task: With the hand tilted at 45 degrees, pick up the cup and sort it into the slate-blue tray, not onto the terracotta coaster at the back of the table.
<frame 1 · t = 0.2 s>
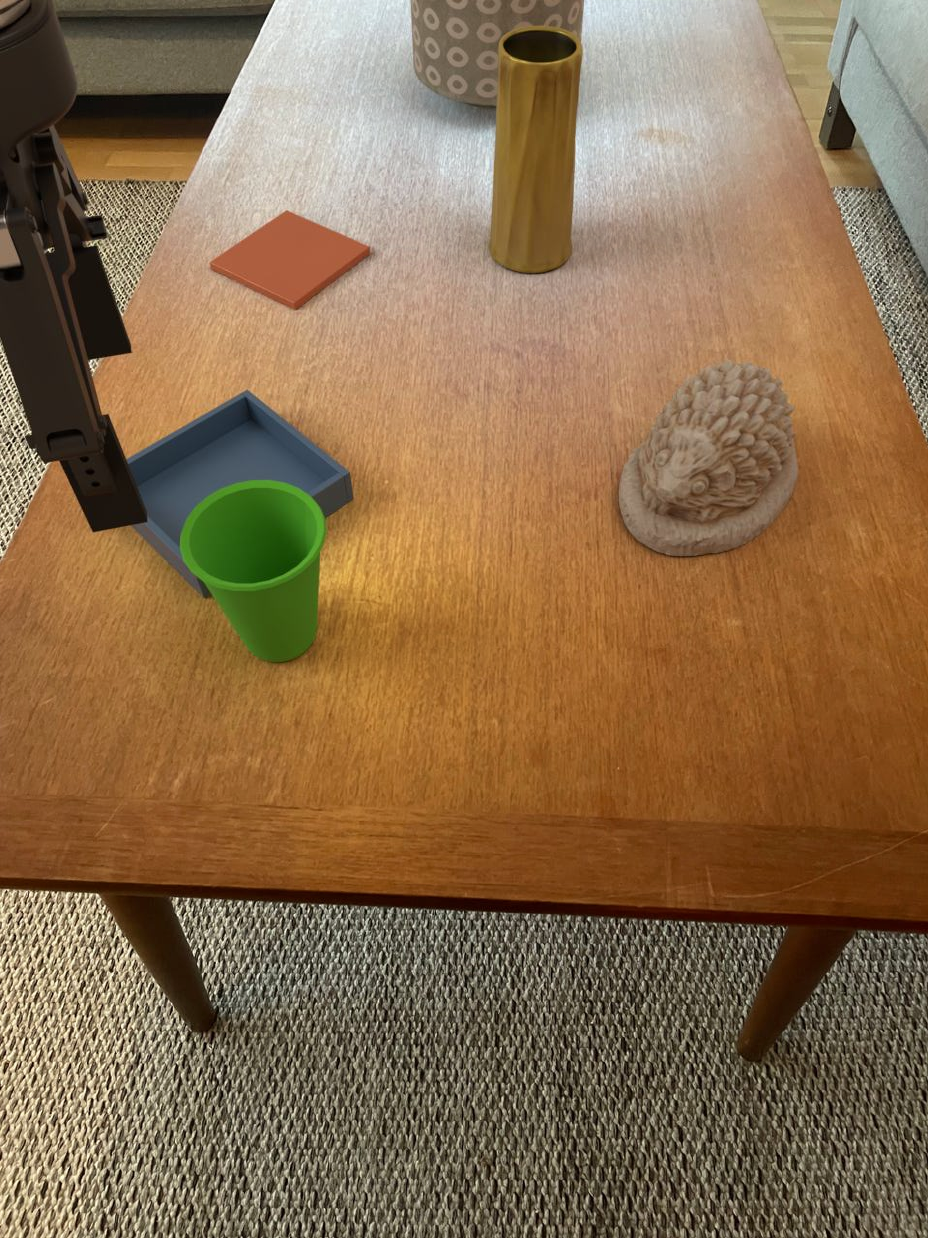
hand: (113, 431, 53), 20 cm above the table, tool pointing down, fingers open, 13 cm apart
vase: (529, 251, 97), on the table
planter: (495, 92, 116), on the table
cup: (281, 635, 70), on the table
sculpture: (705, 488, 78), on the table
terracotta coaster: (291, 261, 96), on the table
blue tray: (230, 501, 78), on the table
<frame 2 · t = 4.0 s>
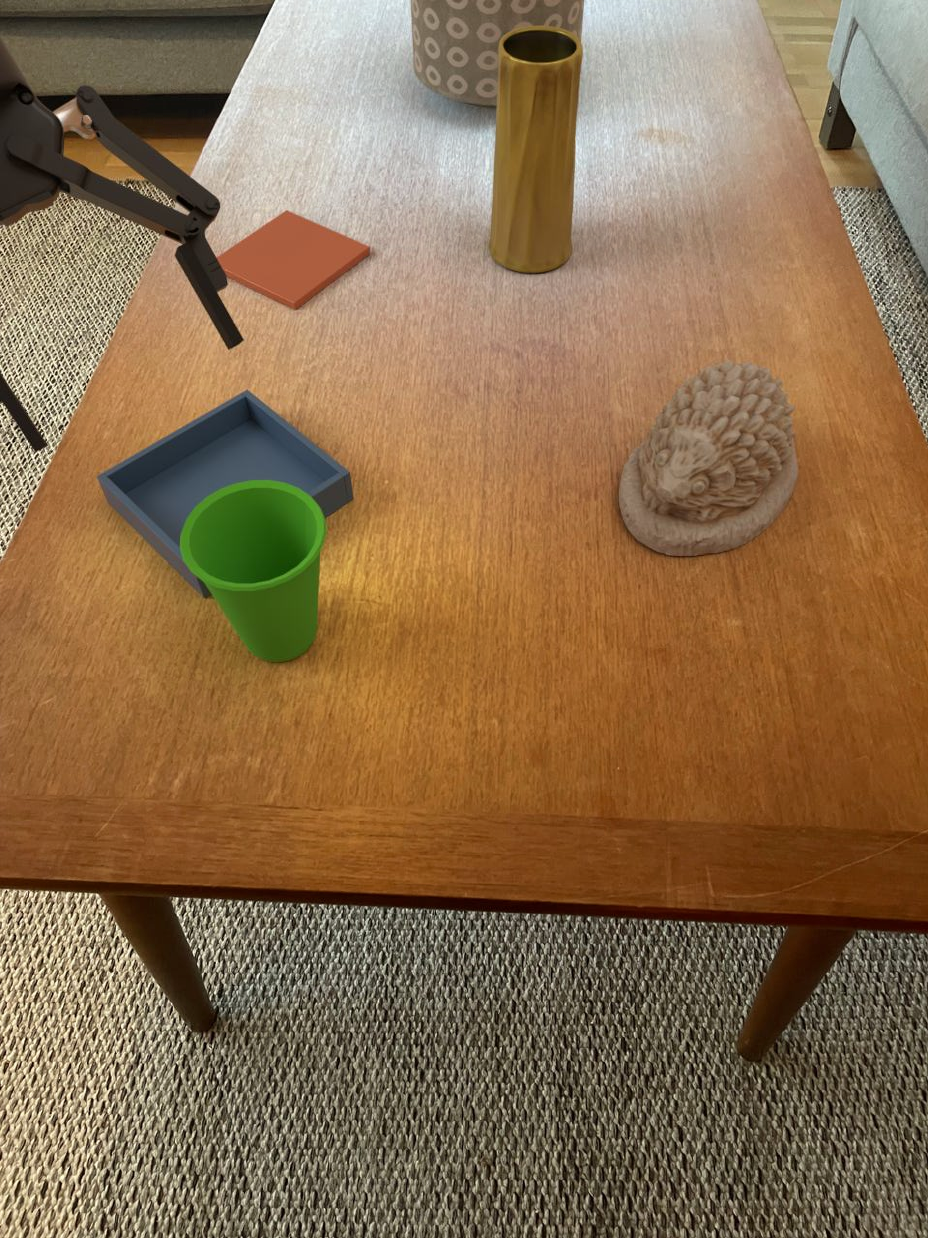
hand: (141, 396, 62), 16 cm above the table, tool tilted 40°, fingers open, 13 cm apart
nothing on the table moved.
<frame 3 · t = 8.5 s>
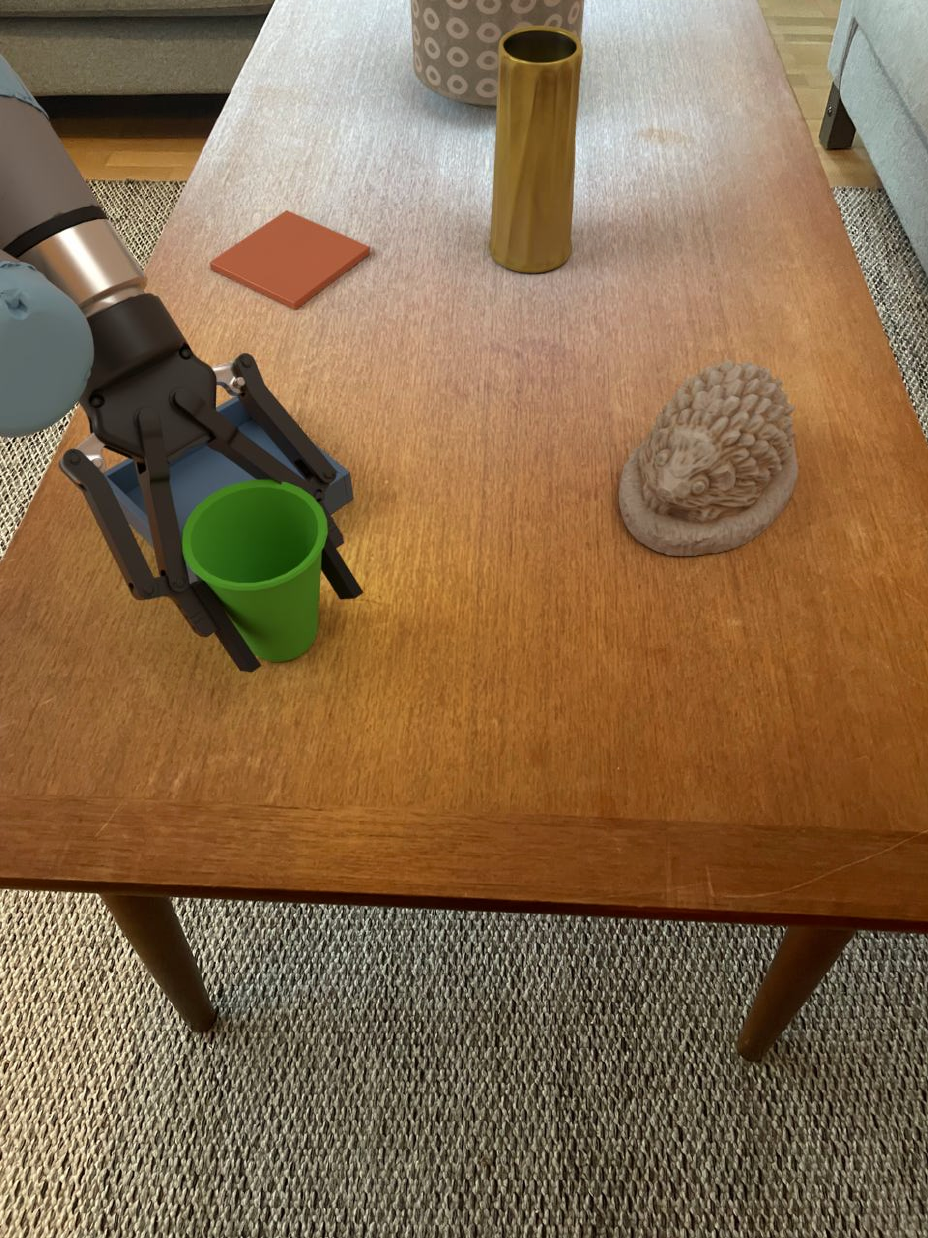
hand: (302, 631, 65), 4 cm above the table, tool tilted 45°, fingers closed on cup, 8 cm apart
cup: (282, 635, 70), on the table, touching gripper
everything else where it was.
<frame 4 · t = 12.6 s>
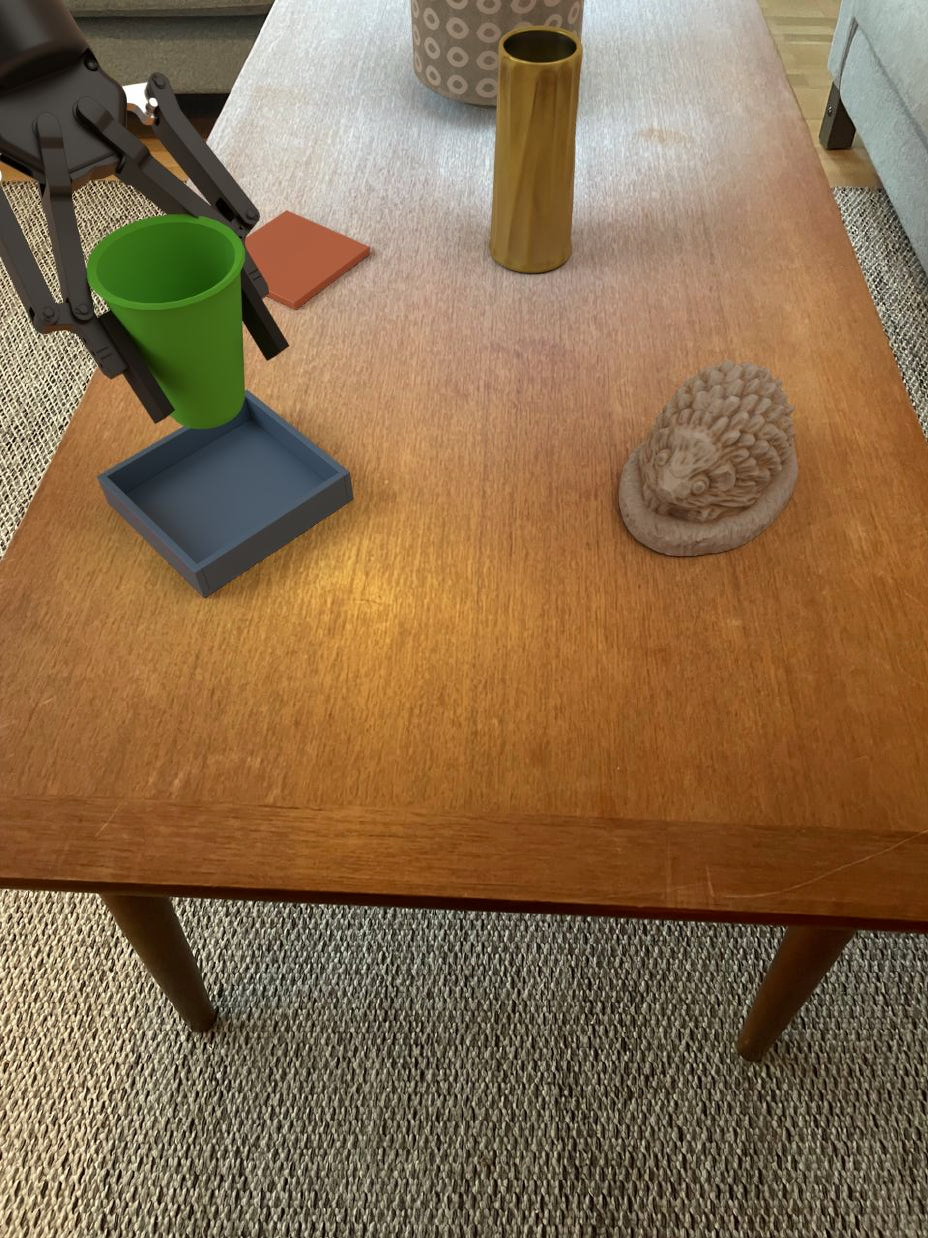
hand: (222, 384, 61), 16 cm above the table, tool tilted 45°, fingers closed on cup, 8 cm apart
cup: (207, 406, 66), point 12 cm above the table, touching gripper
everything else where it was.
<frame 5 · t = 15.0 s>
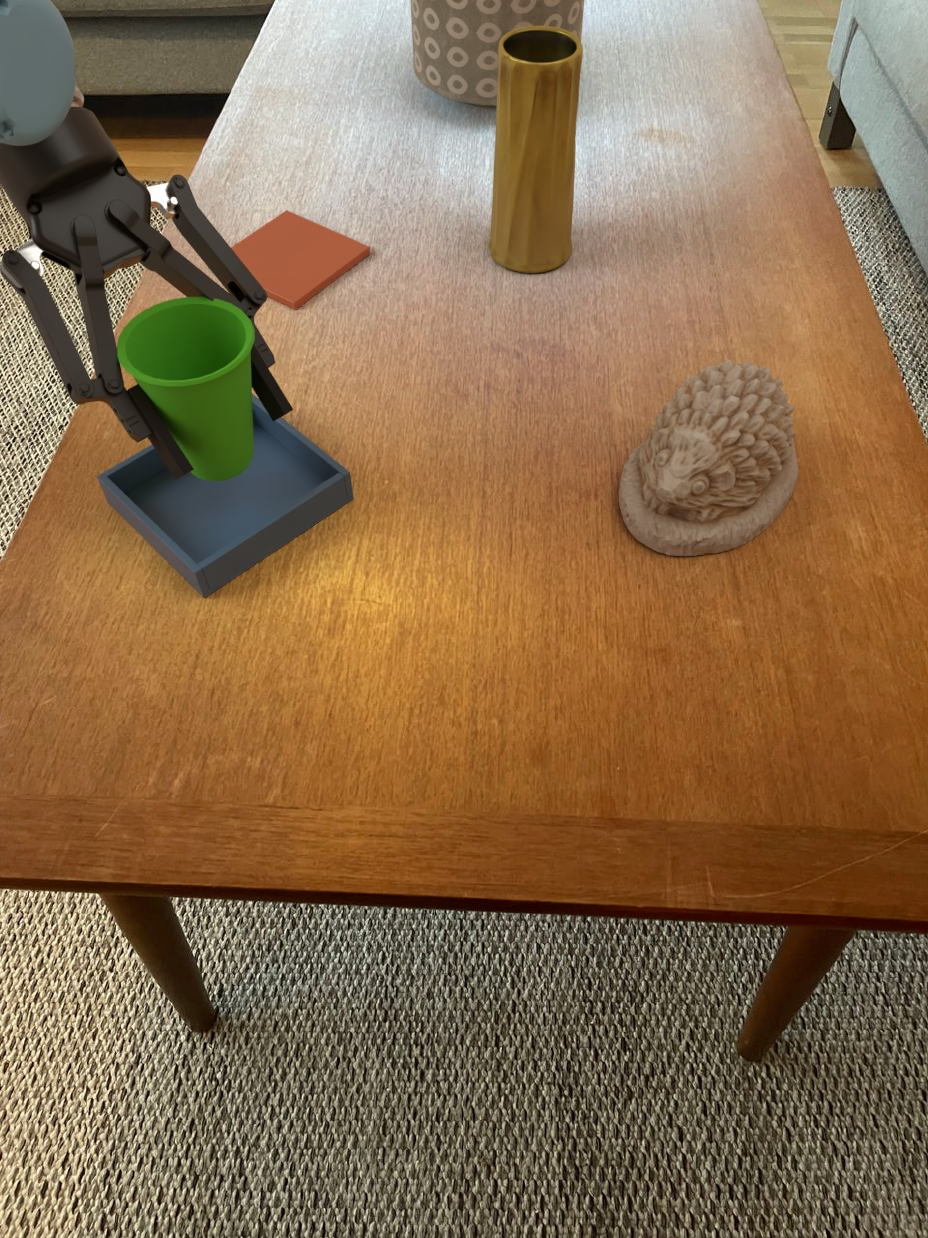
hand: (235, 444, 69), 8 cm above the table, tool tilted 45°, fingers closed on cup, 8 cm apart
cup: (220, 459, 74), point 4 cm above the table, touching gripper
everything else where it was.
when the fingers open (4 cm above the table, at t = 16.6 s): cup stays where it is, resting on blue tray.
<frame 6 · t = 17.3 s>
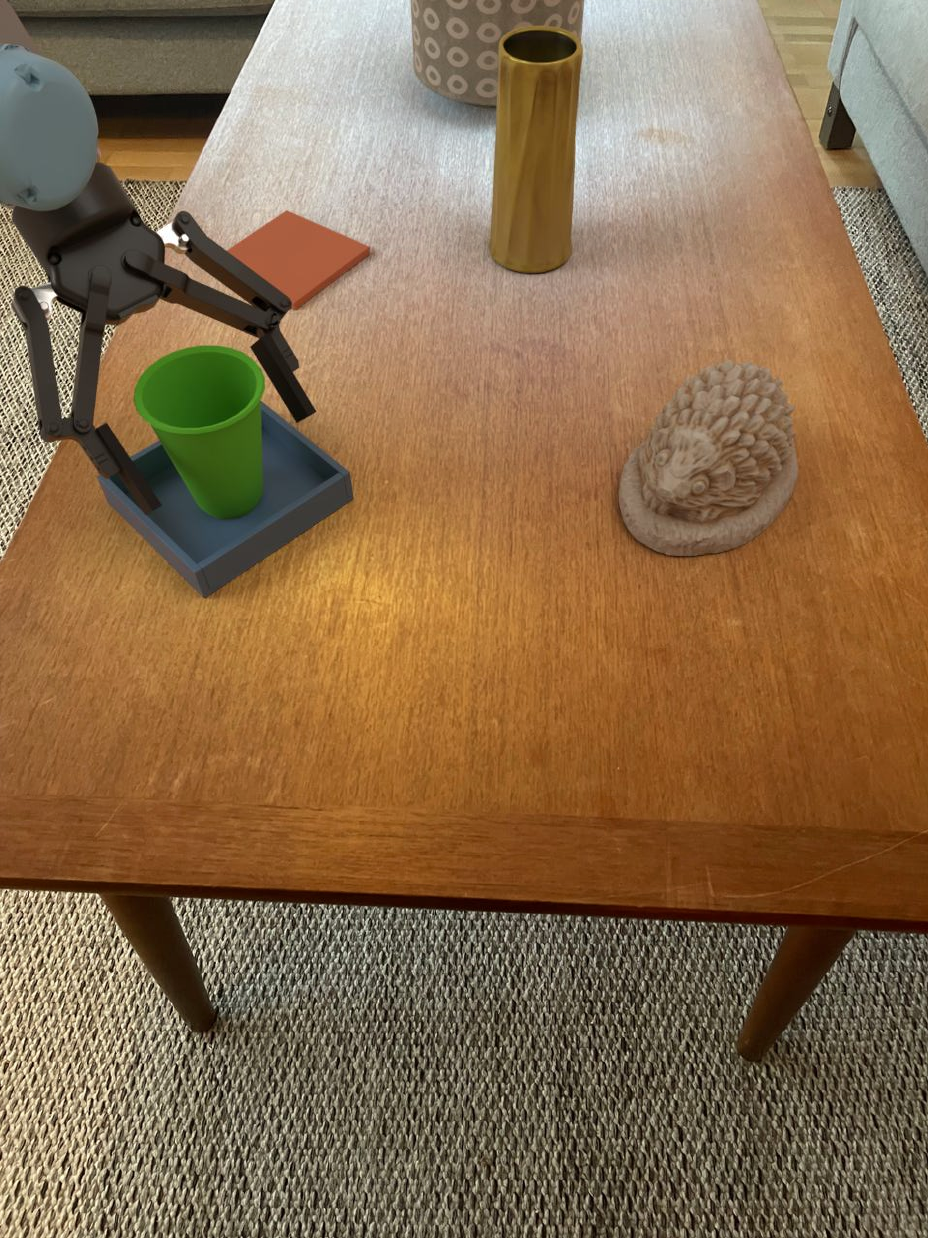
hand: (233, 462, 72), 6 cm above the table, tool tilted 45°, fingers open, 13 cm apart
cup: (231, 497, 77), resting on blue tray
everything else where it was.
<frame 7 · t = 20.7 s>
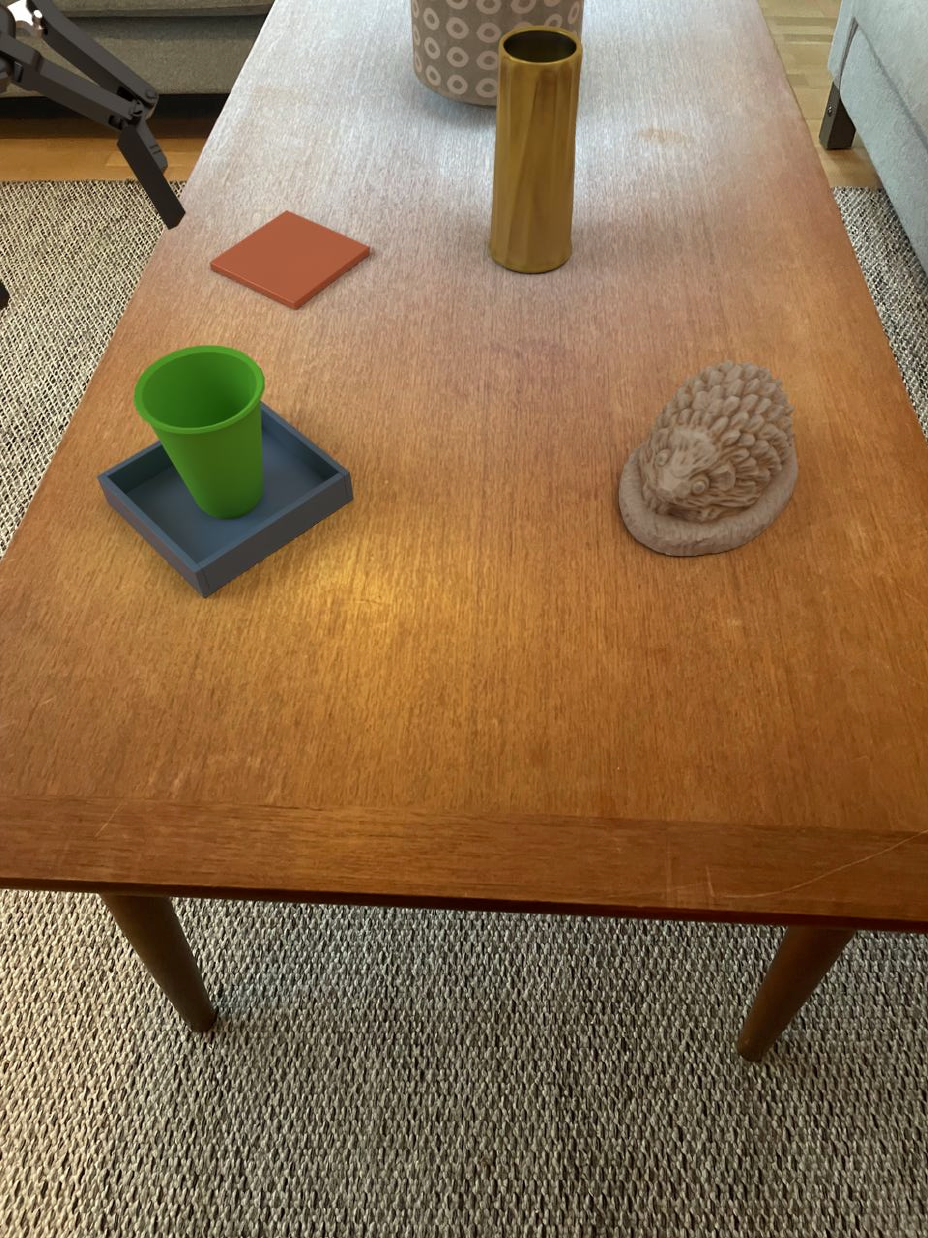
hand: (94, 261, 68), 17 cm above the table, tool tilted 45°, fingers open, 13 cm apart
nothing on the table moved.
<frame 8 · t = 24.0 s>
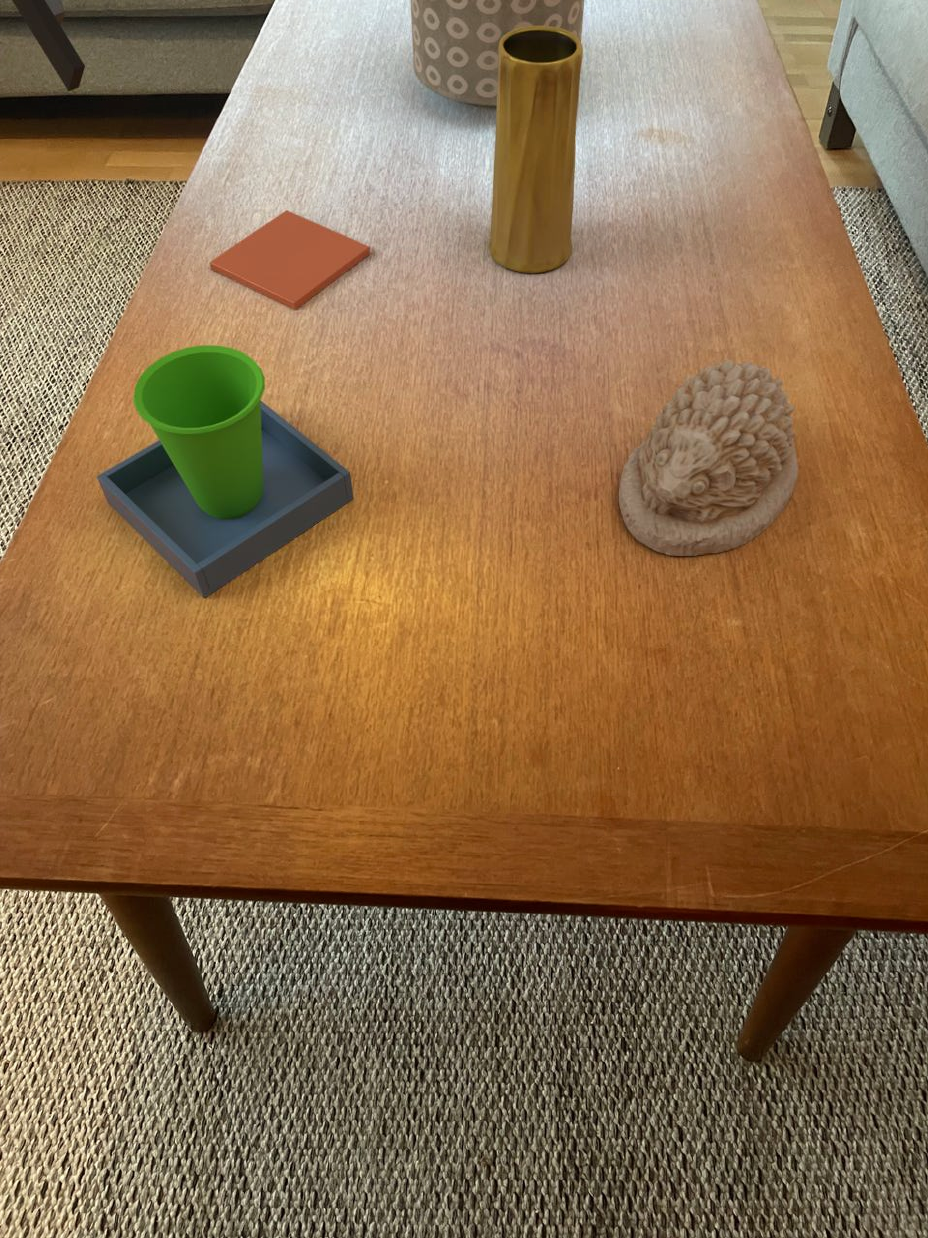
nothing on the table moved.
at the end: cup inside the target area in the blue tray (0.1 cm from its centre), point 0.3 cm above the blue tray's base; cup tilted 0°; cup touching blue tray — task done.
